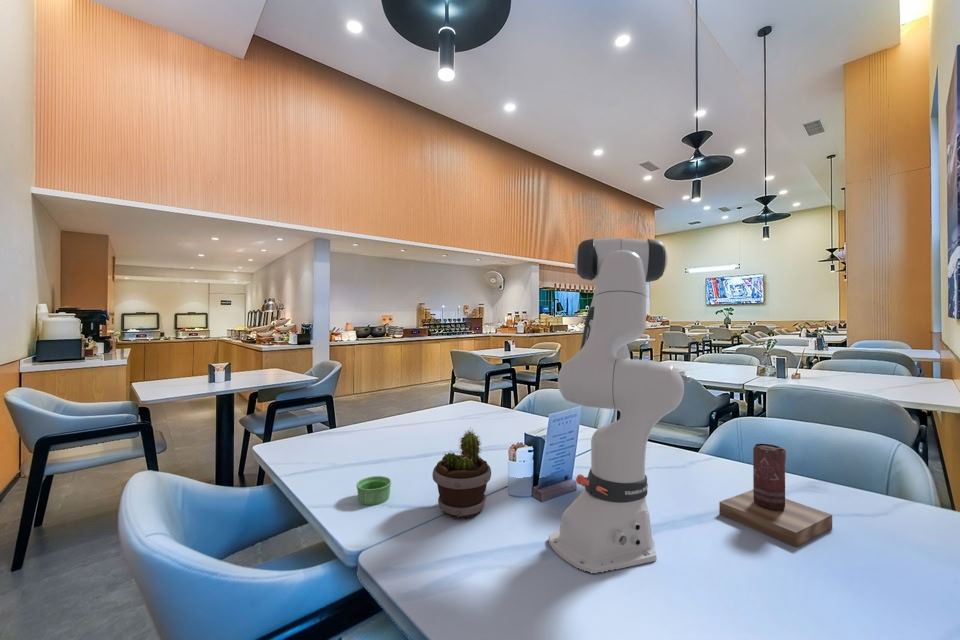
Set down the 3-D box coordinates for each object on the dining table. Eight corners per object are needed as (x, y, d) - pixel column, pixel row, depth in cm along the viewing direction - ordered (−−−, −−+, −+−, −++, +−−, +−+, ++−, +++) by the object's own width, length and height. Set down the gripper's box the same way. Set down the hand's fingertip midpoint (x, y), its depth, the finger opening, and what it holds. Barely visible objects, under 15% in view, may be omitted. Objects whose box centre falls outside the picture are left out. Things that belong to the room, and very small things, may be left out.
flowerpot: (463, 532, 90) (463, 443, 90) (420, 510, 100) (419, 430, 100) (504, 509, 100) (504, 429, 100) (461, 491, 111) (461, 419, 111)
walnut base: (796, 547, 83) (796, 532, 83) (719, 514, 97) (719, 501, 97) (832, 527, 91) (832, 514, 91) (756, 499, 105) (756, 488, 105)
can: (792, 512, 92) (791, 451, 92) (761, 510, 93) (760, 449, 93) (778, 500, 98) (777, 443, 98) (749, 498, 99) (748, 442, 99)
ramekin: (398, 498, 107) (397, 482, 107) (368, 510, 101) (368, 492, 101) (379, 488, 113) (379, 473, 113) (350, 499, 107) (349, 482, 107)
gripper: (614, 366, 121) (653, 372, 109) (660, 362, 130) (700, 367, 118) (614, 387, 121) (654, 395, 109) (660, 382, 130) (700, 388, 118)
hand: (678, 380), depth 113 cm, fingers open, 8 cm apart
